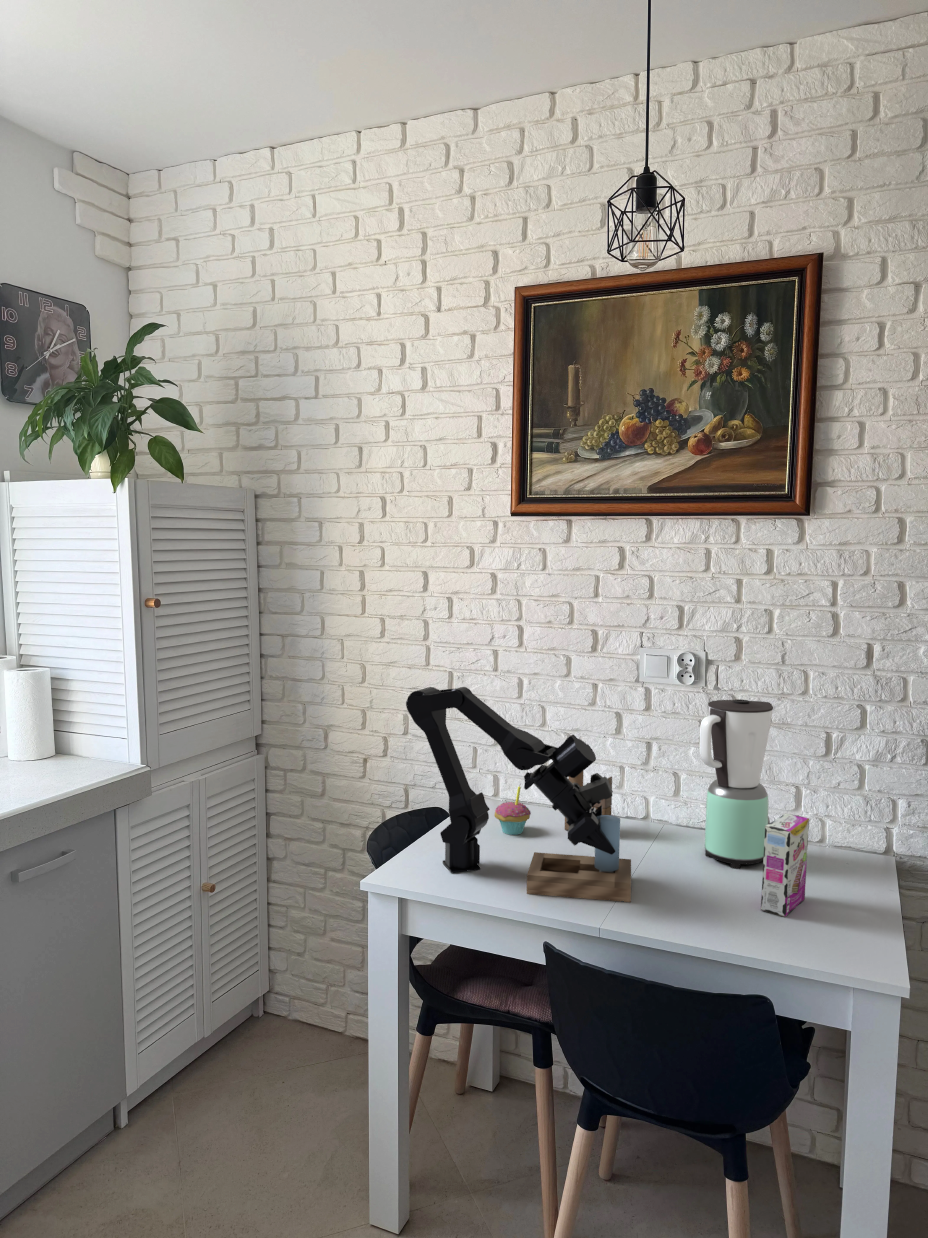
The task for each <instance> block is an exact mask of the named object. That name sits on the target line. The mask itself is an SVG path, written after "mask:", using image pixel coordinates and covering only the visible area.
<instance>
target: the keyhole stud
mask: <svg viewBox="0 0 928 1238" xmlns="http://www.w3.org/2000/svg"><path fill="white" fill-rule="evenodd" d="M596 818H597V819H600V818H601V830H602V831H603V833H604V834H605V836H606V837H607V839H608V840H609V841H610V843H611V844H612V846H613V847H614V849H615V853H614V854H612V855H611V854H609V853H606V852H604V851H602V850H599V849H597V848H594V857H595V865H594V866H595V868H596V869H599V872H609V873H614V871H615V870H618V869H619V858H620V843H621V842H620V839H621V838H620V837H621V833H620V832H621V818H620V817H618V816H615V815H612V814H611V815H601V816H597V817H596Z"/></svg>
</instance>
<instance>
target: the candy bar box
mask: <svg viewBox="0 0 928 1238" xmlns="http://www.w3.org/2000/svg"><path fill="white" fill-rule="evenodd" d="M809 825H810V818H809V817H804V816H800V815H797V814H796V815H795V814H789V813H784V814H782V815H781V816H779V817H778V818H776V819H774V820H773V821H770V823H769V824H768V825H766V826H765V838H764V857H763V858H764V859H763V863H762V864H763V865H762V866H763V867H762V880H761V881H762V883H761V901H760V902H761V903H760V911H763V912H766V913H769V914H772V915H776V916H779V917H785V918H786V917H787V916H788V915H789V914H790V913H791V912H792V911H793V910H794V909H796V908H797V907H798V906H799V904H801V903H802V902H804V900H805V899H806V898H805V897H806V884H807V883H806V882H807V877H806V876H807V867H808V866H807V864H808V862H807V860H808V849H809V848H808V847H809V846H808V844H809V827H810V826H809Z"/></svg>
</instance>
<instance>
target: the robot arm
mask: <svg viewBox="0 0 928 1238" xmlns="http://www.w3.org/2000/svg"><path fill="white" fill-rule="evenodd" d="M405 706H406V710H407V712H408V714H409V715H410V717H411V719H412V721H413V722H414V723H415V725H416V726H417V727H418V728H420V730H421V731H422V732H423V733H424V735H425V737H426V740H427V742H428V745H429V747H430V750H431V753H432V755H433V758H434V761H435V763H436V766H437V768H438V772H439V773H440V777H441V779H442V781H443V783H444V786H445V789H446V792H447V794H448V815H449V820H450V823H449V824H448V825H447V826H446V827H445V828H443V830H441V831H440V838H441V839H442V843H444V849H445V851H444V860H442V864H443V865H444V867H445V868H446V869H448V871H449V873H452V874H454V873H455V874H456V873H462V872H465V873H466V872H471V871H480V870H481V866H480V865H479V864H481V863H480V862H481V857H480V856H481V855H480V854H481V853H480V851H481V846H480V844H478V843H479V842H478V841H479V839H478V838H477V835H480V833H481V830H482V829H483V828H485V826H486V825H487V823H488V821H489V818H490V816H489V811H490V807H489V806H488V804H487V803H486V800H485V796H484V793H483V792H482V791H481V792H479V793H476V792H475V791H474V790H473V789H472V788H471V787H470V784H469V781H468V780H467V777H466V774H465V771H464V768H463V766H462V763H461V761H460V758H459V756H458V753H457V750H456V748H455V745H454V743H453V740H452V738H451V735H450V732H449V730H448V727H447V709H448V710H449V709H454V708H455V709H456V710H458V711H459V712H460V713H461V714H462V715H463V716H464V717H466V718H467V719H468V720H469V721H471V722H472V723H473V724H474V725H475V726H477V727H478V728H479V729H481V731H483V732H484V733H485V734H486V735H487V736H488V737H490V738H491V739H492V740H493V741H494V742H496V743H497V745H498V746H499V747H500V749H501V751H502V753H503V755H504V756H505V758H506V759H508V761H509V762H510V763H511V764H512V766H514V767H515V768H516V769H518V770H519V771H529V770H531V769H532V768H534V767H536V766H538V767H537V769H535V770H534V771H532V772H526V773H525V774H524V776H523V779H524V783H523V784H524V786H523V789H524V790H528V789H530V788H531V787H532V786H533V785H534V786H535V787H536V788H537V789H538V790H539V791H540V792H541V793H542V794H543V796H545V797H546V798H547V800H548V801H549V802H550V803H551V804H552V805H551V808H552V809H553V810H554V811H555V812H556V811H559V813H561V815H562V816H563V817H564V819H565V818H566V819H567V821H566V823H567V824H568V825H569V829H568V830H567V840H568V841H569V842H570V843H571V844H572V845H573V846H574V847H575V846H577V845H578V844H580V843H582V844H584V845H587V846H590V847H592V848H594V849H595V848H597V849H599V850H602V851H604V852H606V853H609V854H611V855H612V854H614V853H615V849H614V847H613V846H612V844H611V843H610V841H609V840H608V839H607V837H606V836H605V834H604V833H603V831H602V830H601V818H600V819H597V818H596V817H597V816H601V815H602V805H601V806H600V807H598V808H597V809H595V807H593V806H594V805H595V804H596V803H598V804H600V803H601V800H603V799H608V798H610V797H612V798H613V792H614V791H613V787H612V788H611V786H610V784H609V780H608V779H607V778H608V777H606V775H604V776H602V775H601V774H600V773H599V772H595V773H592V774H591V775H590V782H586V784H583V786H582V787H581V786H580V785H579V784H578V783H575V782H574V783H572V782H571V781H570V780H569V779H568V776H569V777H571V778H575V777H577V776H578V775H579V774H580V773H581V772H583V773H584V772H585V770H586V769H587V768H589V767H590V766H591V765H592V764H594V763H595V762H596V760H597V756H596V754H595V752H594V750H593V749H592V747H591V746H590V745H589V744H588V743H586V742H585V741H583V740H582V739H580V738H578V737H577V736H576V735H575V734H571V735H570V736H568V737H567V738H566V739H565V741H564V742H563V743H561V745H560V746H558V747H557V746H554V745H550V744H546V743H544V742H543V741H542V740H541V739H540V738H539V737H537V736H535V735H533V734H532V733H530V732H528V731H525V730H524V729H520V728H518V727H516V726H513V725H512V724H511V723H509V721H507V720H506V719H505V718H503V717H502V716H501V715H500V714H499V713H497V712H496V711H495V710H494V709H492V708H491V707H490V706H488V705H487V704H486V703H485V702H484V701H482V700H481V699H480V698H479V697H477V695H475V694H474V693H473V692H472V691H471V689H469V688H468V687H466V686H460V687H457V688H447V689H446V688H445V689H438V688H436V687H433V686H429V687H424V688H421V689H418V690H414V691H412V692H411V693H410V694H409V695H408V697H407V699H406V701H405ZM549 761H552V762H550V763H549V764H548V765H545V764H546V763H548V762H549ZM592 807H593V808H592Z"/></svg>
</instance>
